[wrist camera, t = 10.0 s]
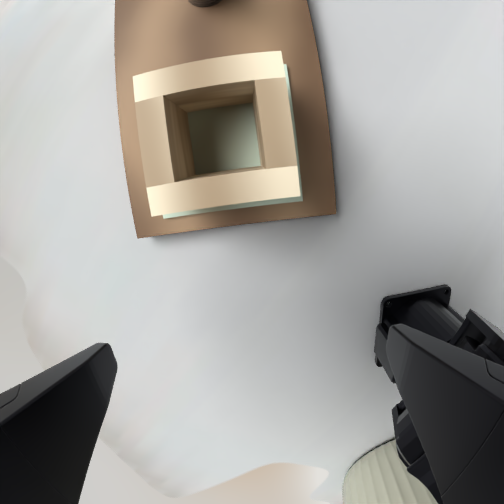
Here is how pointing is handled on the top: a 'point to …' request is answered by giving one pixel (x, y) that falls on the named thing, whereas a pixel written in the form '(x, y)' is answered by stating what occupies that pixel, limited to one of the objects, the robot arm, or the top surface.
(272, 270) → the top surface
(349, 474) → the canister
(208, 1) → the post
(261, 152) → the collar
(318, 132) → the board
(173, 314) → the top surface
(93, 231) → the top surface
